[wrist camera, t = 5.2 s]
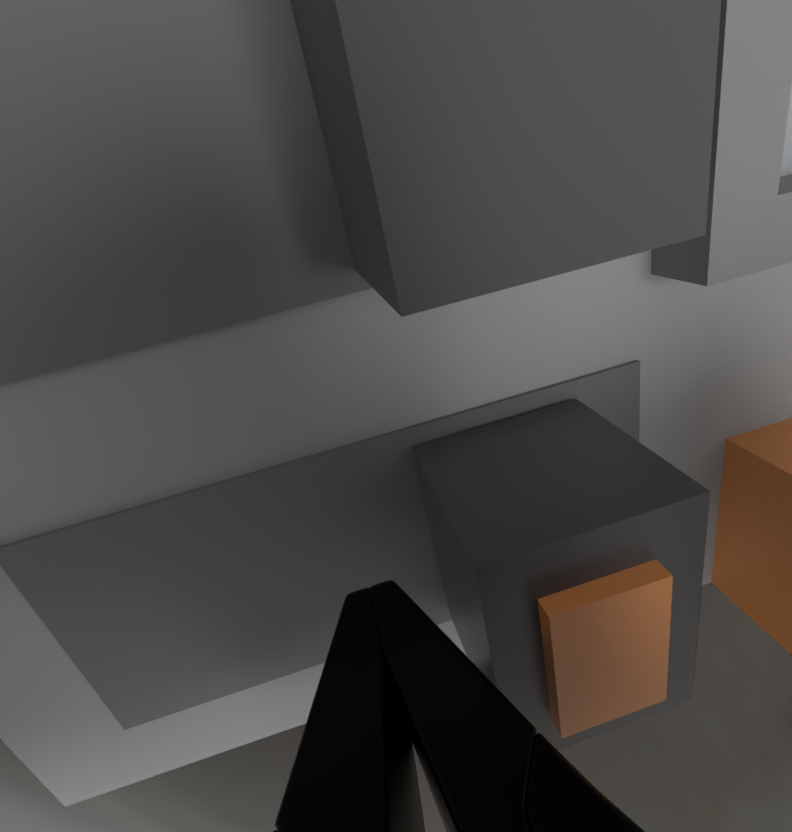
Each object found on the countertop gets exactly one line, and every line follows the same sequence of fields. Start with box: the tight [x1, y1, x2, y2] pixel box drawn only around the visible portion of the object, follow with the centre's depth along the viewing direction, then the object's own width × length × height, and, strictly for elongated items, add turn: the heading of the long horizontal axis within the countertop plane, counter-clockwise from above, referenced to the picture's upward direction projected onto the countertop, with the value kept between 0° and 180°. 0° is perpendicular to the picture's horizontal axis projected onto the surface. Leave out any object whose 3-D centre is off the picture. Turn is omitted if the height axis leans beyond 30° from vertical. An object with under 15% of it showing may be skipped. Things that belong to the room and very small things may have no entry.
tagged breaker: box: [412, 399, 710, 749], centre depth 8 cm, size 3×4×3 cm
